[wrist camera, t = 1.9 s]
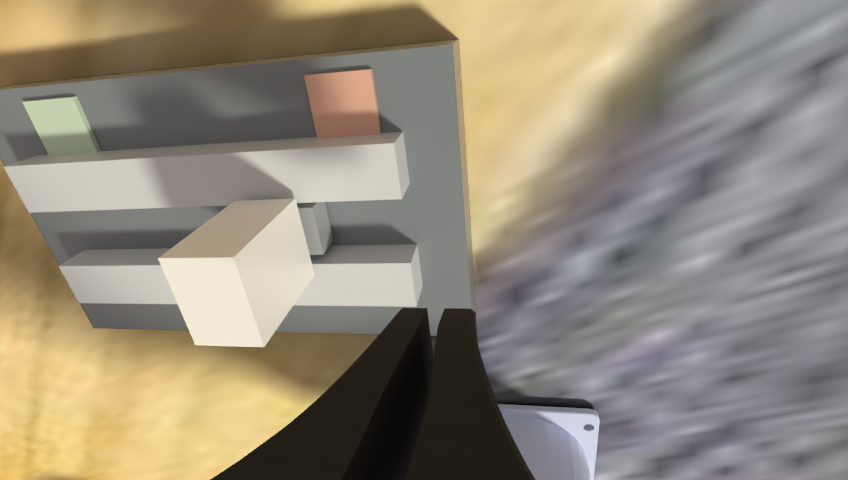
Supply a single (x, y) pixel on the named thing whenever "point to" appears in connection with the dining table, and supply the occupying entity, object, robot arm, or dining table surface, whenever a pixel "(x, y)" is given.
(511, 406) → the robot arm
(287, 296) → the lever
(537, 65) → the dining table surface
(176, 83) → the panel
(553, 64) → the dining table surface
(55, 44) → the dining table surface
